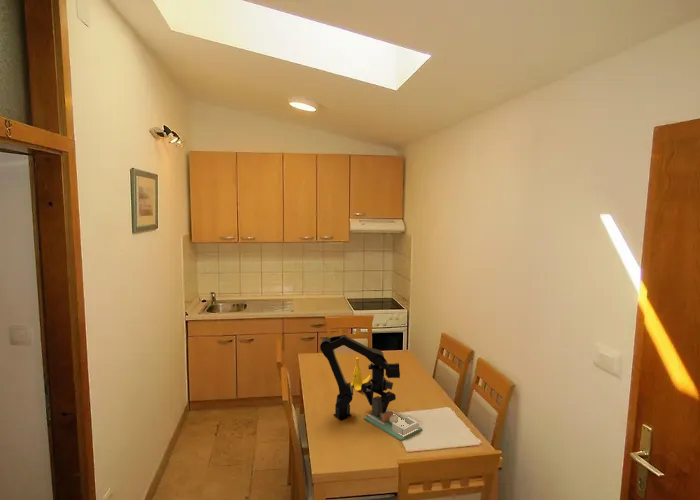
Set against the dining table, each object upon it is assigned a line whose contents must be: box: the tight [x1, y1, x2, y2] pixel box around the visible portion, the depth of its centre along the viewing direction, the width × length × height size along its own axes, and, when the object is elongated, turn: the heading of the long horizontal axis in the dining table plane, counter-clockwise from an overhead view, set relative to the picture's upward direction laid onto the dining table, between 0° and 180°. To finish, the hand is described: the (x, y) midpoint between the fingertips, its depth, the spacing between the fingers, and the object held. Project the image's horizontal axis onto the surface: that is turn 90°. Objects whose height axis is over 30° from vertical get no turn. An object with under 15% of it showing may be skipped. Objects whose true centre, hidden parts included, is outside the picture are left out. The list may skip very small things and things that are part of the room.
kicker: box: [371, 395, 394, 422], centre depth 198 cm, size 6×9×8 cm, turn 39°
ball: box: [389, 414, 398, 423], centre depth 192 cm, size 4×4×4 cm
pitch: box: [363, 408, 423, 442], centre depth 193 cm, size 14×24×4 cm, turn 39°
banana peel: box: [346, 356, 372, 392], centre depth 236 cm, size 17×19×17 cm
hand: (377, 408), depth 200 cm, fingers open, 9 cm apart
